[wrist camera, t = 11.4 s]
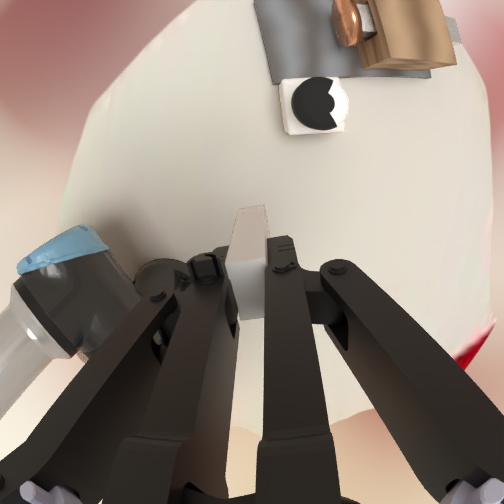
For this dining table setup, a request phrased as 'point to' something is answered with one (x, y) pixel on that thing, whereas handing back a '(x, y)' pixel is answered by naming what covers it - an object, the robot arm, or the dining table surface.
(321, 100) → the medicine bottle
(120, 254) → the dining table surface
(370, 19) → the shaft
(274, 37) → the bearing block
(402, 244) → the dining table surface
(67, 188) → the dining table surface
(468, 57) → the dining table surface
